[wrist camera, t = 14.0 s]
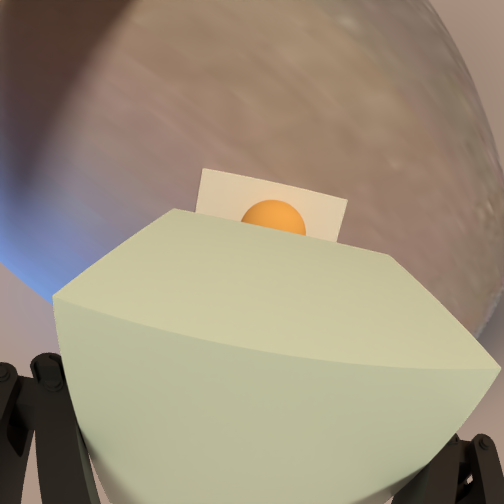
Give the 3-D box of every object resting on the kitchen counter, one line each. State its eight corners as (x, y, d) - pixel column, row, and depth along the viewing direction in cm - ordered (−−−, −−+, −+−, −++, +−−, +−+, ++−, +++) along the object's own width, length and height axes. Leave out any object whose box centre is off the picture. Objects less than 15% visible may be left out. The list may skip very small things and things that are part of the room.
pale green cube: (158, 379, 16) (110, 502, 8) (173, 208, 13) (52, 295, 5) (324, 407, 17) (345, 531, 8) (388, 254, 13) (501, 368, 5)
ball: (235, 230, 19) (245, 181, 22) (232, 274, 23) (241, 227, 26) (313, 242, 19) (311, 192, 22) (297, 284, 23) (298, 235, 26)
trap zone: (183, 299, 27) (182, 300, 27) (203, 168, 24) (202, 168, 24) (309, 324, 28) (309, 325, 28) (346, 199, 24) (347, 200, 24)
